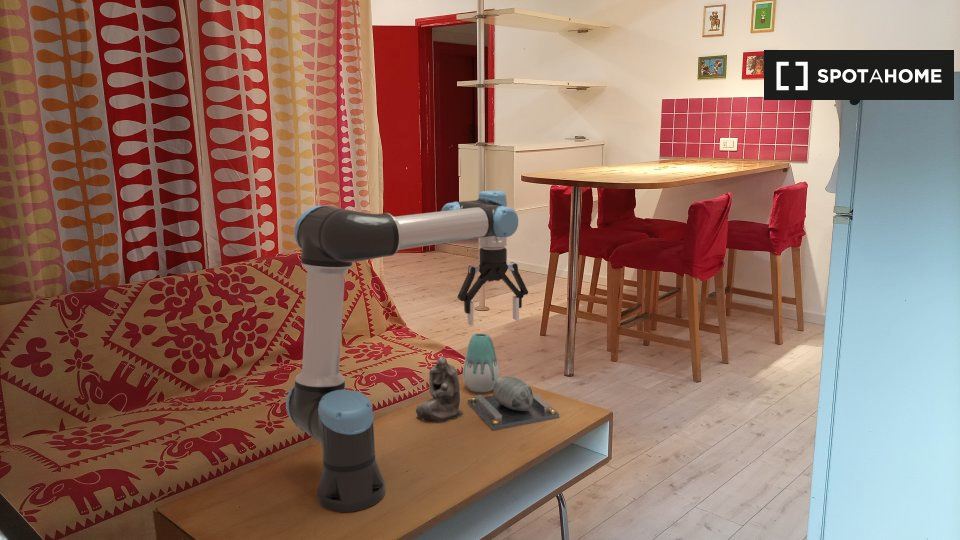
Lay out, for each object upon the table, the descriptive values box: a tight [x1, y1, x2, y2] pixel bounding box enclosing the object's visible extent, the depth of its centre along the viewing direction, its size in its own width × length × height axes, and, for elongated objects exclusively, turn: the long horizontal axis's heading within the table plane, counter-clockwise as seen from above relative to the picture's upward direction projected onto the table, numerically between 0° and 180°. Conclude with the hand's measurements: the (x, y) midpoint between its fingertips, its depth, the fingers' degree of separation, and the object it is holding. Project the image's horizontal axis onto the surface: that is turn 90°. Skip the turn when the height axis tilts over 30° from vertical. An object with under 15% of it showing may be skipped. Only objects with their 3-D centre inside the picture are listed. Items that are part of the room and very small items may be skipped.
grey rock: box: [493, 375, 533, 411], centre depth 207 cm, size 14×10×10 cm
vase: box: [462, 332, 501, 394], centre depth 223 cm, size 12×12×18 cm
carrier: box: [467, 390, 560, 431], centre depth 208 cm, size 20×20×3 cm
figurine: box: [415, 356, 463, 423], centre depth 205 cm, size 13×12×18 cm
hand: (493, 322), depth 203 cm, fingers open, 13 cm apart
